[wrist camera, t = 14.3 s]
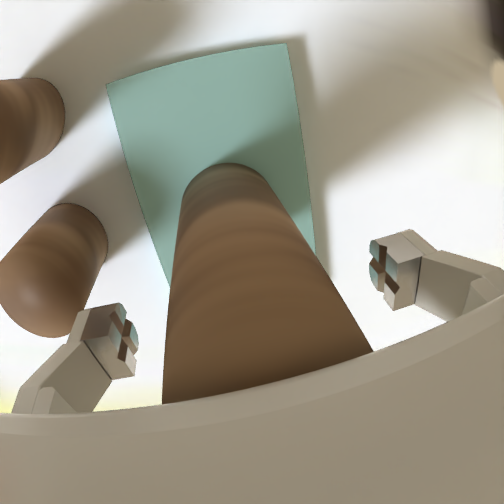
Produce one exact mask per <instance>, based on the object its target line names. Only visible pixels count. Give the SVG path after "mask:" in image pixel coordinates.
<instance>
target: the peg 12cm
mask: <svg viewBox="0 0 504 504" xmlns="http://www.w3.org/2000/svg"><path fill="white" fill-rule="evenodd" d="M372 352H374V351H373V350H372V348H371V346H370V344H369V343H368V341H367V339H366V338H365V336H364V334H363V332H362V331H361V329H360V327H359V326H358V324H357V322H356V321H355V319H354V317H353V315H352V314H351V312H350V310H349V309H348V307H347V305H346V304H345V302H344V301H343V299H342V297H341V296H340V294H339V292H338V291H337V289H336V287H335V286H334V284H333V283H332V281H331V279H330V278H329V276H328V274H327V273H326V271H325V270H324V268H323V266H322V265H321V263H320V262H319V260H318V259H317V257H316V255H315V254H314V252H313V251H312V249H311V247H310V246H309V244H308V243H307V241H306V240H305V238H304V237H303V235H302V233H301V232H300V230H299V229H298V227H297V226H296V224H295V223H294V221H293V220H292V218H291V217H290V215H289V214H288V212H287V211H286V209H285V208H284V206H283V205H282V203H281V202H280V200H279V199H278V197H277V196H276V194H275V193H274V191H273V190H272V188H271V187H270V185H269V184H268V182H267V181H266V180H265V178H264V177H263V176H262V175H261V174H260V173H258V172H257V171H256V170H254V169H252V168H250V167H248V166H245V165H242V164H238V163H221V164H216V165H213V166H210V167H208V168H206V169H204V170H203V171H201V172H200V173H198V174H197V175H196V176H195V177H194V178H193V179H192V180H191V181H190V183H189V184H188V186H187V187H186V189H185V191H184V194H183V197H182V202H181V208H180V215H179V222H178V229H177V236H176V244H175V252H174V260H173V268H172V277H171V286H170V295H169V305H168V316H167V328H166V340H165V354H164V370H163V388H162V404H168V403H175V402H181V401H187V400H193V399H199V398H204V397H210V396H215V395H220V394H225V393H230V392H234V391H239V390H243V389H248V388H252V387H256V386H260V385H265V384H269V383H273V382H277V381H280V380H284V379H288V378H292V377H295V376H299V375H302V374H306V373H309V372H313V371H316V370H319V369H323V368H326V367H329V366H333V365H336V364H339V363H342V362H345V361H348V360H351V359H354V358H357V357H360V356H363V355H366V354H369V353H372Z"/></svg>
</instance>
